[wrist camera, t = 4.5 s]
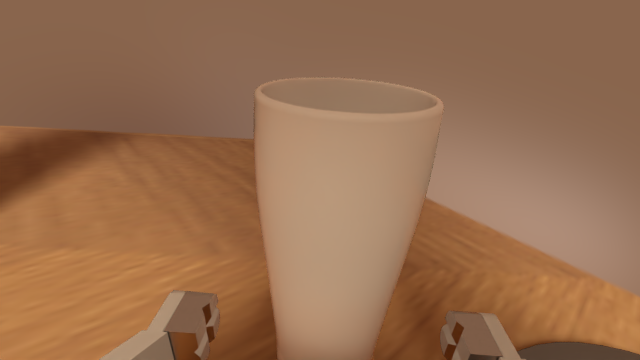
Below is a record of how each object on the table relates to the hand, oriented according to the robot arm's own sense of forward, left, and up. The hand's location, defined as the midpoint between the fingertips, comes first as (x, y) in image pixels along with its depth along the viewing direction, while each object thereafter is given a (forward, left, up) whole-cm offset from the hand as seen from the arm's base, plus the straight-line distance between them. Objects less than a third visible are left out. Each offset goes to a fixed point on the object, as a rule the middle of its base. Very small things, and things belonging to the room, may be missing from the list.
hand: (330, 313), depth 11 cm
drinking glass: (-3, +2, -8) cm, 9 cm away
